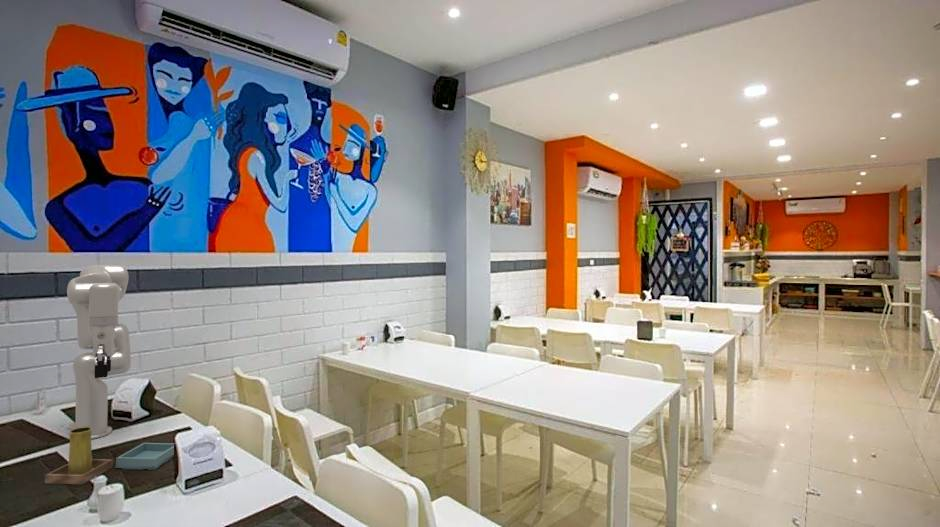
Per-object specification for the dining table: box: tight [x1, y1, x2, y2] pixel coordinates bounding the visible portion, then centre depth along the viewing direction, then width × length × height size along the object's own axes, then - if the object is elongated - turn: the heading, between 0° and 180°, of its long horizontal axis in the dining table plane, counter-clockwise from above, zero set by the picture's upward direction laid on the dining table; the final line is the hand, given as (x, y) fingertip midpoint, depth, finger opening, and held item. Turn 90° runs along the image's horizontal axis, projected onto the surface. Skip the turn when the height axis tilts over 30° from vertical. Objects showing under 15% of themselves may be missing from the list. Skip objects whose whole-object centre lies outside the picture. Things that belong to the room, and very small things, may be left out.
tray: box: [115, 442, 175, 471], centre depth 157 cm, size 13×13×4 cm
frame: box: [44, 458, 114, 485], centre depth 146 cm, size 12×12×2 cm
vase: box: [67, 427, 93, 475], centre depth 146 cm, size 6×6×14 cm
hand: (102, 374), depth 151 cm, fingers open, 9 cm apart
